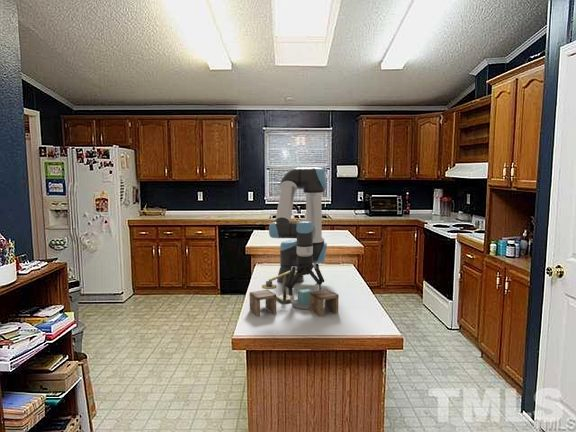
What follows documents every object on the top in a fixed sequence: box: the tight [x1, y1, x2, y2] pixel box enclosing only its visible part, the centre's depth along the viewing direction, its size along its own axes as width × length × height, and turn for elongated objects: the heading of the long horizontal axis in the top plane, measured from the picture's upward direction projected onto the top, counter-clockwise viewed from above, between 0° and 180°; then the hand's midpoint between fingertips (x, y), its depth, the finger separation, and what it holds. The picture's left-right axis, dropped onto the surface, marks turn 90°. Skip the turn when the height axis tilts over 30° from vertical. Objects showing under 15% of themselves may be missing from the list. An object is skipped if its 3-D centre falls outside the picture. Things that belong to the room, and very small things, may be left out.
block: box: [297, 288, 313, 305], centre depth 186 cm, size 5×5×6 cm
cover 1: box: [249, 289, 277, 318], centre depth 177 cm, size 9×9×8 cm
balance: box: [261, 269, 304, 304], centre depth 193 cm, size 8×23×16 cm, turn 117°
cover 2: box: [309, 289, 339, 318], centre depth 177 cm, size 9×9×8 cm
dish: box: [291, 298, 310, 311], centre depth 186 cm, size 12×12×1 cm
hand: (304, 299), depth 186 cm, fingers open, 13 cm apart
